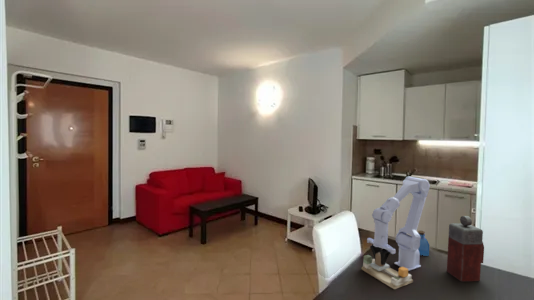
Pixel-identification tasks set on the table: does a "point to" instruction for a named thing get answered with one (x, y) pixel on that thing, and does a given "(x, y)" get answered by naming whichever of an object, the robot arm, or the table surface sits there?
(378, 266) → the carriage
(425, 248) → the perfume bottle
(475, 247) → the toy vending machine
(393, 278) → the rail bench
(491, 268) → the table surface
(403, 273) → the orange cardboard cube
